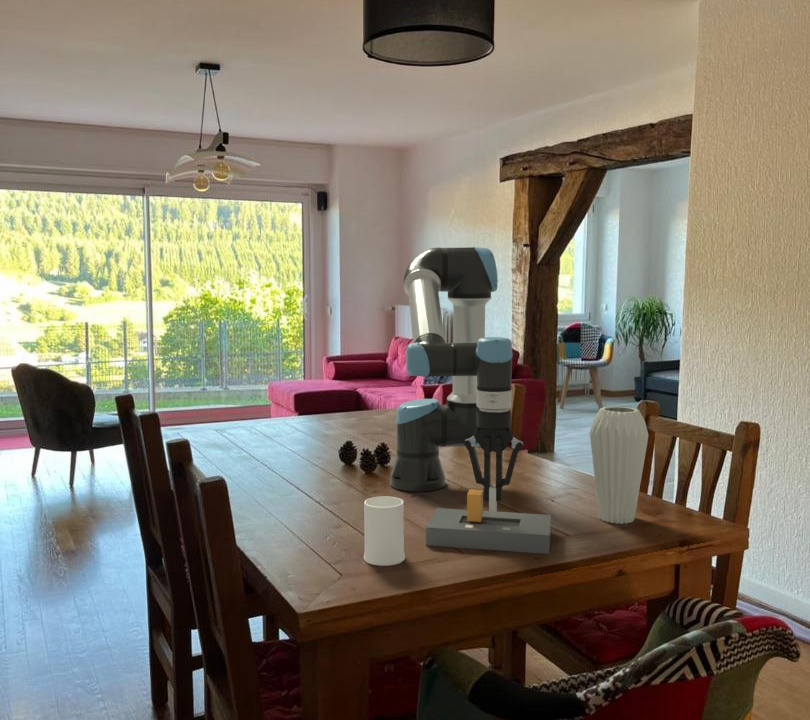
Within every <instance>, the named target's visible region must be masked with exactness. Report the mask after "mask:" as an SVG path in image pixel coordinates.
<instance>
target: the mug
mask: <svg viewBox="0 0 810 720" xmlns="http://www.w3.org/2000/svg"><path fill="white" fill-rule="evenodd" d="M404 502H405V501H404V499H402V498H399V497H396V496H389V495H388V496H387V495H385V496H383V495H382V496H373V497H369V498H367V499H366V500H364V502H363V506H364V507H363V509H364V513H363V514H364V516H363V517H364V518H363V519H364V520H363V521H364V522H363V523H364V530H363V531H364V554H363V561H365V562H366V563H367V564H369V565H373V566H378V567H379V566H381V567H387V566H394V565H398V564H401V563H402V562H404V561H405V559H406V555H405V554H406V553H405V536H404V535H405V530H404V529H405V520H404V519H405V518H404V517H405V512H404V511H405V509H404V508H405V507H404V505H405V504H404Z"/></svg>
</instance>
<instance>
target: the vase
mask: <svg viewBox="0 0 810 720" xmlns="http://www.w3.org/2000/svg"><path fill="white" fill-rule="evenodd" d="M591 423H592V424H591V427H590V431H589V438H590V448H591V457H592V465H593V467H592V468H593V474H594V475H593V476H594V484H595V493H596V503H597V511H598V518H599V519H600V520H601V521H603V522H605V523H610V524H616V525H617V524H620V525H621V524H622V525H623V524H626V525H628V523H629V524H630V523H632V522H634V521H635V517H636V511H637V507H638V502H639V501H638V500H639V496H640V495H639V493H640V486H641V482H642V476H643V471H644V465H645V460H646V459H645V458H646V453H647V447H648V440H649V437H650V436H649V432H648V427H647V424H646V421H645V418H644V416H643V415H642V413H641V411H640V409H637V408H636V407H631V406H630V407H629V406H628V407H627V406H614V405H613V406H603V407H601V408H599V409H598V411H597V413H596V414H595V416H594V418H593V420H592V422H591Z"/></svg>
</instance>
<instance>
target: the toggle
mask: <svg viewBox="0 0 810 720" xmlns="http://www.w3.org/2000/svg"><path fill="white" fill-rule="evenodd" d="M466 510H467V521H474V522H481V520H482V517H483V511H484V489H472V488H471V489H470V488H469V489H468V492H467V494H466Z"/></svg>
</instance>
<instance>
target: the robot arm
mask: <svg viewBox="0 0 810 720" xmlns="http://www.w3.org/2000/svg"><path fill="white" fill-rule="evenodd" d="M403 275H404V276H403V289H404V292H405V294H406V295H407V296H408V302H409V311H410V312H409V313H410V314H409V315H410V324H411V332H412V343H408V344H407V345H406V348H405V349H406V350H405V365H406V367H405V368H406V374H408V375H409V376H411V377H423V378H427V377H452V391H451V393H450V394H449V395H448V396H447V397H446V404H441V403H440V401H439V399H437V398H420V399H414V400H409V401H405V402H404V403H401V404H399V406H398V407H397V409H396V420H395V424H396V458H395V461H394V464H393V467H392V470H391V474H390V478H389V479H390V480H389V481H390V483H389V484H390V486H391V487H392V488H393V489H396V490H399V491H405V492H417V493H418V492H430V491H431V492H432V491H437V490H439V489H442V488H444V487H445V486H446V475H445V472H444V468H443V465H442V462H441V459H440V448H457V447H458V448H461V447H465V448H466V450H467V451H468V455H469V458H470V462H471V467H472V470H473V476H474V480H475V483H476V484H478V485H482V486H483V500H484V501H485V502H488V511H489V517H496V515H497V512H498V502H502V499H503V487H504V486H509V485H510V483H511V479H512V477H513V472H514V469H515V465H516V462H517V457H518V453H519V452H520V451H521V450H522V448H523V447H524V442H523V440H519V439H517V438H516V437H514V433H513V430H512V411H511V410H510V408H512V404H513V403H512V399H513V396H512V395H513V394H512V393H513V392H512V391H513V388H512V384H513V383H512V382H513V381H512V378H513V377H512V374H513V373H512V371H513V368H512V367H513V356H514V352H513V343H512V342H513V341H512V340H511V339H510V338H508V337H501V336H488V337H487V336H486V305H487V303H488V302H489V301H490V300H491V299H492V292H493V293H495V292H497V289H498V283H499V281H498V280H499V279H498V270H497V264H496V260H495V256H494V254H493V252H492V250H491V249H489V248H487V247H475V246H473V247H472V246H471V247H431V248H429V249H426V250H423V251H422V252H420V253H419V254H417V255H416V256H415V257H414V258H413V259H412V260H411V261H410V262H409V264H408V265H407V268H406V269H405V272H404V274H403ZM439 292H442V293H443V292H447V299H448V300H449V301H450V302H451V303H452V306H453V308H452V312H453V313H452V317H453V318H452V322H453V324H452V342H446V335H445V329H444V328H445V327H444V322H443V314H442V309H441V302H440V296H439ZM485 336H486V337H485ZM510 443H511V448H512V451H511V456H510V459H509V462H508V467H507V469H506V470H507V471H506V473H505V477H504V478H503V466H504V464H503V459H504V458H503V454H504V451H505V449H506V448H508V446H509V445H510ZM476 447H480V448H481V449H482V450H483V457H484V458H483V460H484V461H483V473H482V470H481V467H480V466H481V465H480V462H479V458H478V453H477V450H476ZM492 452H494V453H495V484H492V483H491V482H492V479H491V478H492V477H491V475H492V474H491V472H492V468H491V467H492V465H491V464H492ZM482 474H483V475H482Z"/></svg>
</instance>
